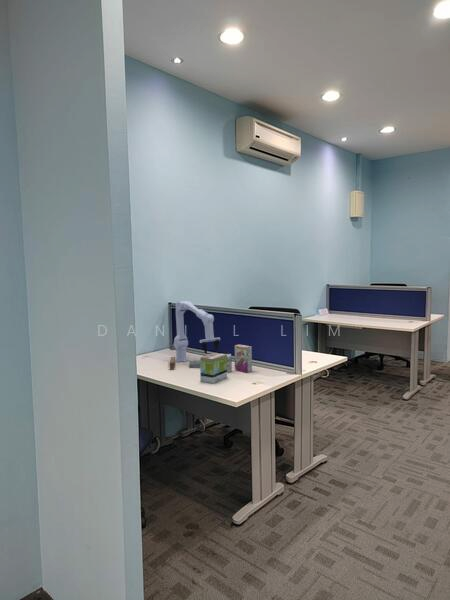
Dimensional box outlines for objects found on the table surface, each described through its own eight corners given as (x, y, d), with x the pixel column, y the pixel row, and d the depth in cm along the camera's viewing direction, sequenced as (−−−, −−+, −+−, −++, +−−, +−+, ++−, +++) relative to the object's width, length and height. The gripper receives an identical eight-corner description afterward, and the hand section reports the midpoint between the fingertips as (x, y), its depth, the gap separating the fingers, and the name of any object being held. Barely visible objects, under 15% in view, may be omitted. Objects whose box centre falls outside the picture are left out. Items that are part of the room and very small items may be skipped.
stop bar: (171, 364, 275) (170, 357, 274) (175, 363, 275) (175, 356, 274) (169, 370, 259) (169, 362, 258) (174, 369, 259) (174, 362, 259)
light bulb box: (231, 369, 256) (231, 353, 256) (231, 372, 250) (230, 356, 249) (215, 369, 258) (215, 353, 257) (214, 372, 251) (214, 355, 250)
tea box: (214, 383, 226) (213, 358, 225) (200, 381, 232) (199, 356, 230) (227, 377, 239) (227, 353, 238) (214, 375, 244) (213, 352, 243)
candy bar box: (234, 370, 256) (233, 345, 254) (239, 368, 259) (239, 344, 258) (247, 372, 248) (247, 347, 247) (252, 371, 252) (252, 346, 250)
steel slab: (189, 365, 273) (189, 360, 273) (203, 364, 274) (203, 360, 273) (189, 368, 263) (189, 364, 263) (204, 368, 264) (204, 363, 263)
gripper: (201, 334, 258) (203, 354, 258) (221, 331, 264) (223, 351, 264) (197, 333, 264) (199, 353, 264) (217, 330, 270) (218, 350, 271)
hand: (211, 352), depth 265 cm, fingers open, 7 cm apart
